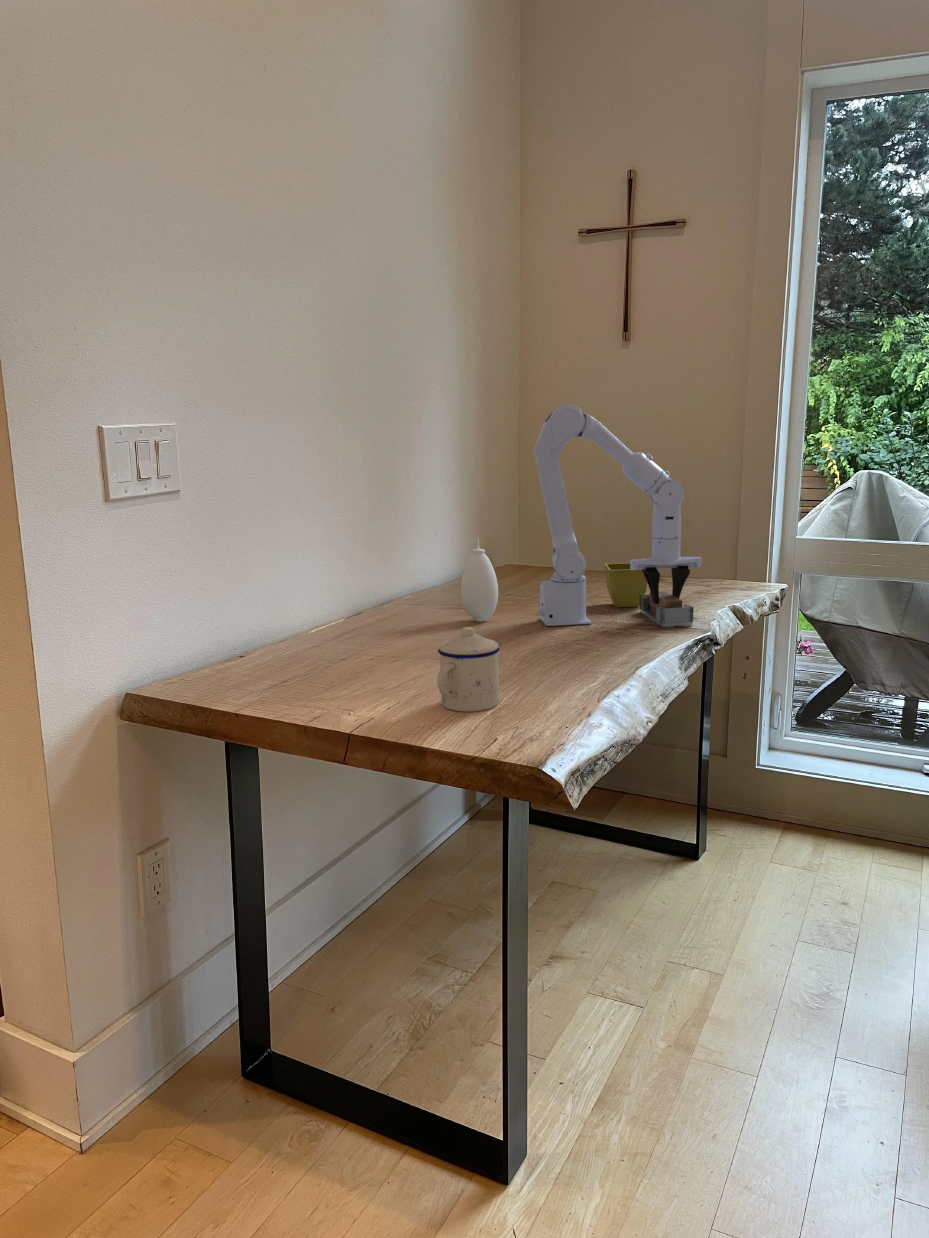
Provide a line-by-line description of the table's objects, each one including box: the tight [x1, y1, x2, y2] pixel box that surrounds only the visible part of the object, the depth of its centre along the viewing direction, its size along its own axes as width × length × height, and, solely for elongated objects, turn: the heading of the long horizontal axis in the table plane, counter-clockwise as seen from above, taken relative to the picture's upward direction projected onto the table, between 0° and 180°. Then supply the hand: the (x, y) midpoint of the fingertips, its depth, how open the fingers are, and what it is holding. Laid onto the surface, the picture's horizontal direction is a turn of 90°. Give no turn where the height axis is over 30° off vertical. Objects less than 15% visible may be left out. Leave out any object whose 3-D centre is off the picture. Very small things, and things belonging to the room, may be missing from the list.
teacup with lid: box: [436, 626, 500, 713], centre depth 138 cm, size 12×9×12 cm
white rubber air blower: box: [460, 536, 499, 623], centre depth 196 cm, size 8×8×18 cm
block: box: [649, 590, 683, 614], centre depth 194 cm, size 4×11×4 cm, turn 5°
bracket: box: [638, 594, 694, 628], centre depth 194 cm, size 7×16×4 cm, turn 5°
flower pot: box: [604, 562, 648, 608], centre depth 209 cm, size 9×9×9 cm
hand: (665, 602), depth 194 cm, fingers open, 4 cm apart
